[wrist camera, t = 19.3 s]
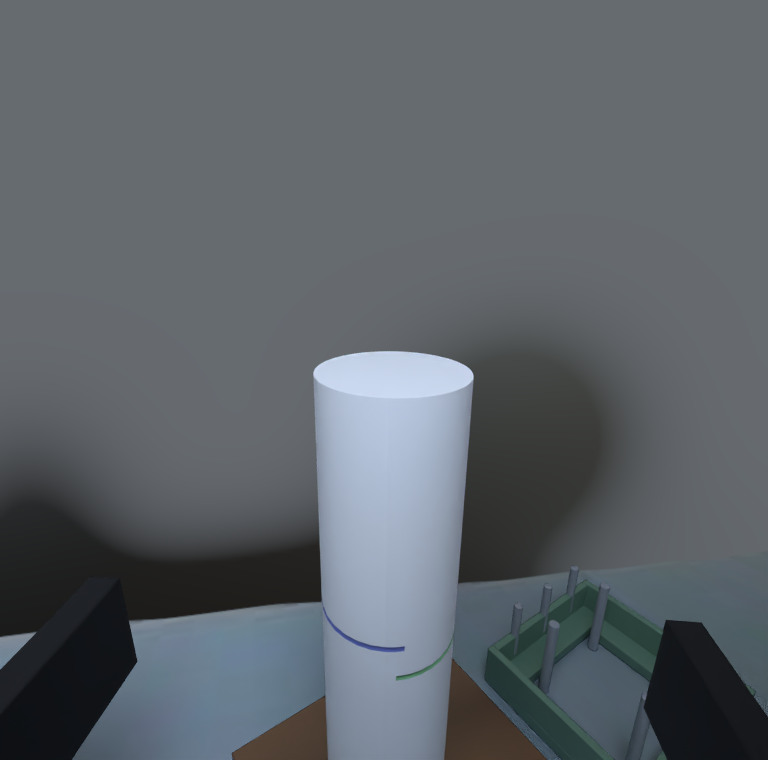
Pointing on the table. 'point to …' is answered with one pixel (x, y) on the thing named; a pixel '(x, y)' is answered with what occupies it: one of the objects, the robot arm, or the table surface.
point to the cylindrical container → (390, 547)
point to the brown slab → (463, 734)
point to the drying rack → (552, 642)
